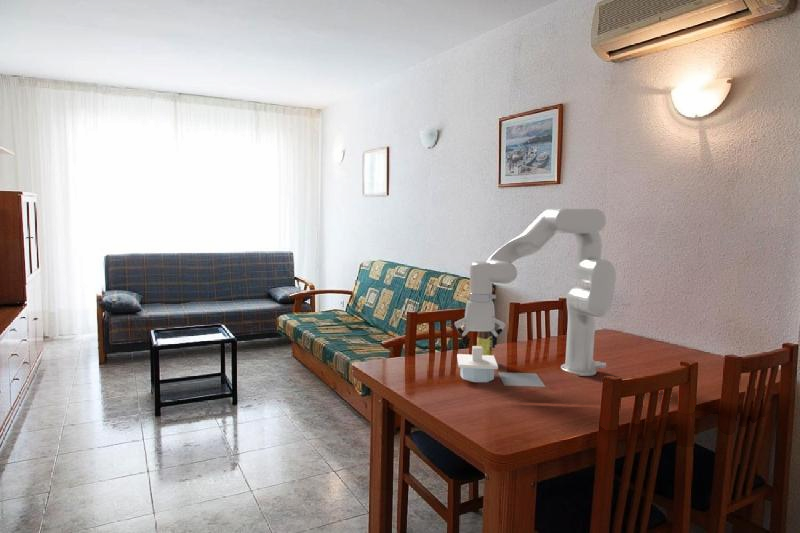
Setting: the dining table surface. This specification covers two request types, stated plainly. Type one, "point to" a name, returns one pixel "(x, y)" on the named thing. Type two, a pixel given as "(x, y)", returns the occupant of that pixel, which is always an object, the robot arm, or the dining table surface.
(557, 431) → the dining table surface
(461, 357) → the lid
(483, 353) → the sauce bottle
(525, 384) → the mat
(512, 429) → the dining table surface
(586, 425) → the dining table surface
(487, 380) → the bowl
